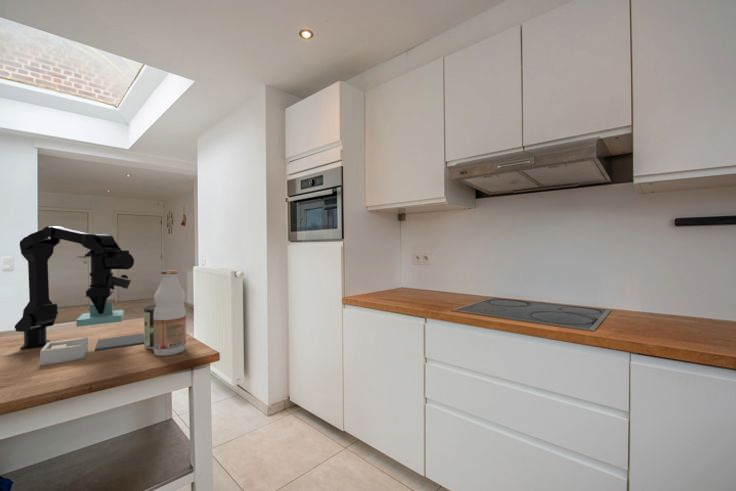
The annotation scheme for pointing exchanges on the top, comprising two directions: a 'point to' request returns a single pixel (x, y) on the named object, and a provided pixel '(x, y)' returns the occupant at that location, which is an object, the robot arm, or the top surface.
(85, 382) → the top surface
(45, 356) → the box
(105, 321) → the lid
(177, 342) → the fruit juice
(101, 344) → the mat
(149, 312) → the coffee can
